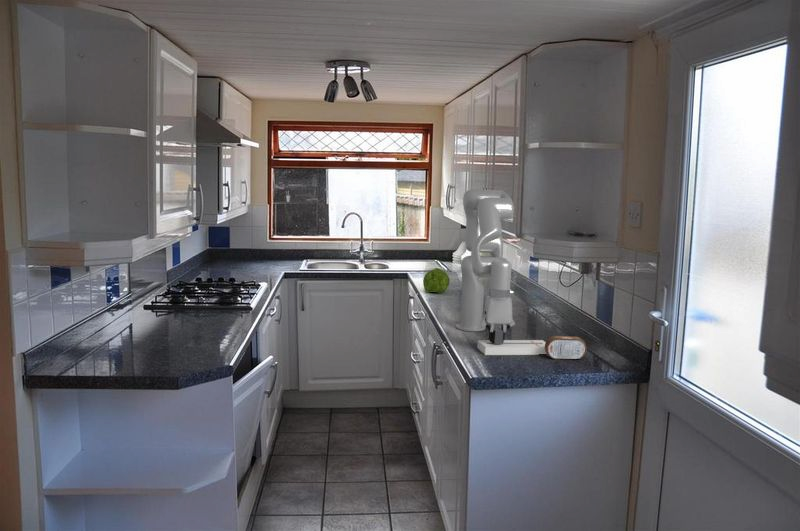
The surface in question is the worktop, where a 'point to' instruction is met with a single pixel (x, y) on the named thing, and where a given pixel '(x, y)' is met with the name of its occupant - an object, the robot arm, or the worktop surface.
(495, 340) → the fader tab
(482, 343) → the console
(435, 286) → the lettuce
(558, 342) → the tin
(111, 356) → the worktop surface
